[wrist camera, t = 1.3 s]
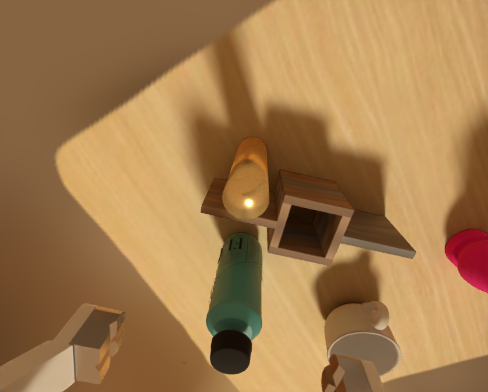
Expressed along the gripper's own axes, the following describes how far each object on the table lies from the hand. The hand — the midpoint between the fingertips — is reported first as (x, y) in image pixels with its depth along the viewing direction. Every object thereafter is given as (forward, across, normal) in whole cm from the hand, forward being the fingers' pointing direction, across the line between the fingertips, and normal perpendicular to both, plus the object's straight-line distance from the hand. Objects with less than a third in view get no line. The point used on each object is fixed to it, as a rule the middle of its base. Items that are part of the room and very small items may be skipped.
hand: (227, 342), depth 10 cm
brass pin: (+30, 0, 0) cm, 30 cm away
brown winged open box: (+30, -9, +6) cm, 31 cm away
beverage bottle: (+30, -2, +15) cm, 34 cm away
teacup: (+30, -24, +24) cm, 45 cm away
